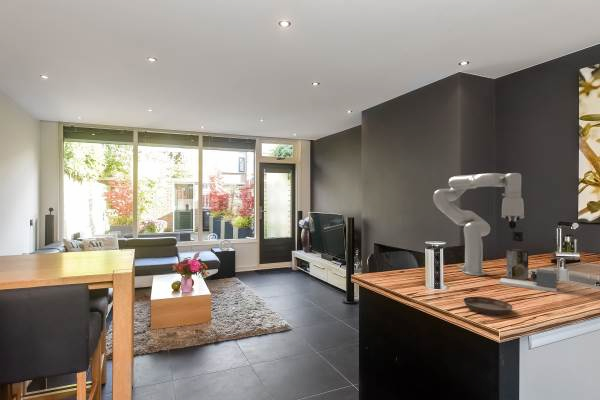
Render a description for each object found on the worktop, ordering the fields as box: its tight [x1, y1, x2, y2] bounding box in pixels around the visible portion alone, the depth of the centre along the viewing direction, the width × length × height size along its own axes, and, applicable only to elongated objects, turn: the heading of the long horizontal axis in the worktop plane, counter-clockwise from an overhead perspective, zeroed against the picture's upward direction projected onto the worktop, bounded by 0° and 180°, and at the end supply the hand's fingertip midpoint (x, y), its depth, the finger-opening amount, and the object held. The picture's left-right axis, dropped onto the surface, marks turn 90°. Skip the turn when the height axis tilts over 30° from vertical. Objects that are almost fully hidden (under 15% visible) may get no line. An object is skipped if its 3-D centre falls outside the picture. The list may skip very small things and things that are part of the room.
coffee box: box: [505, 248, 529, 280], centre depth 191 cm, size 9×6×16 cm
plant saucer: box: [462, 296, 513, 316], centre depth 136 cm, size 18×18×3 cm
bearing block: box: [535, 268, 558, 290], centre depth 168 cm, size 8×8×7 cm
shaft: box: [530, 270, 560, 282], centre depth 169 cm, size 12×5×5 cm, turn 55°
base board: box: [499, 277, 558, 293], centre depth 173 cm, size 24×10×2 cm, turn 55°
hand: (512, 228), depth 183 cm, fingers closed
